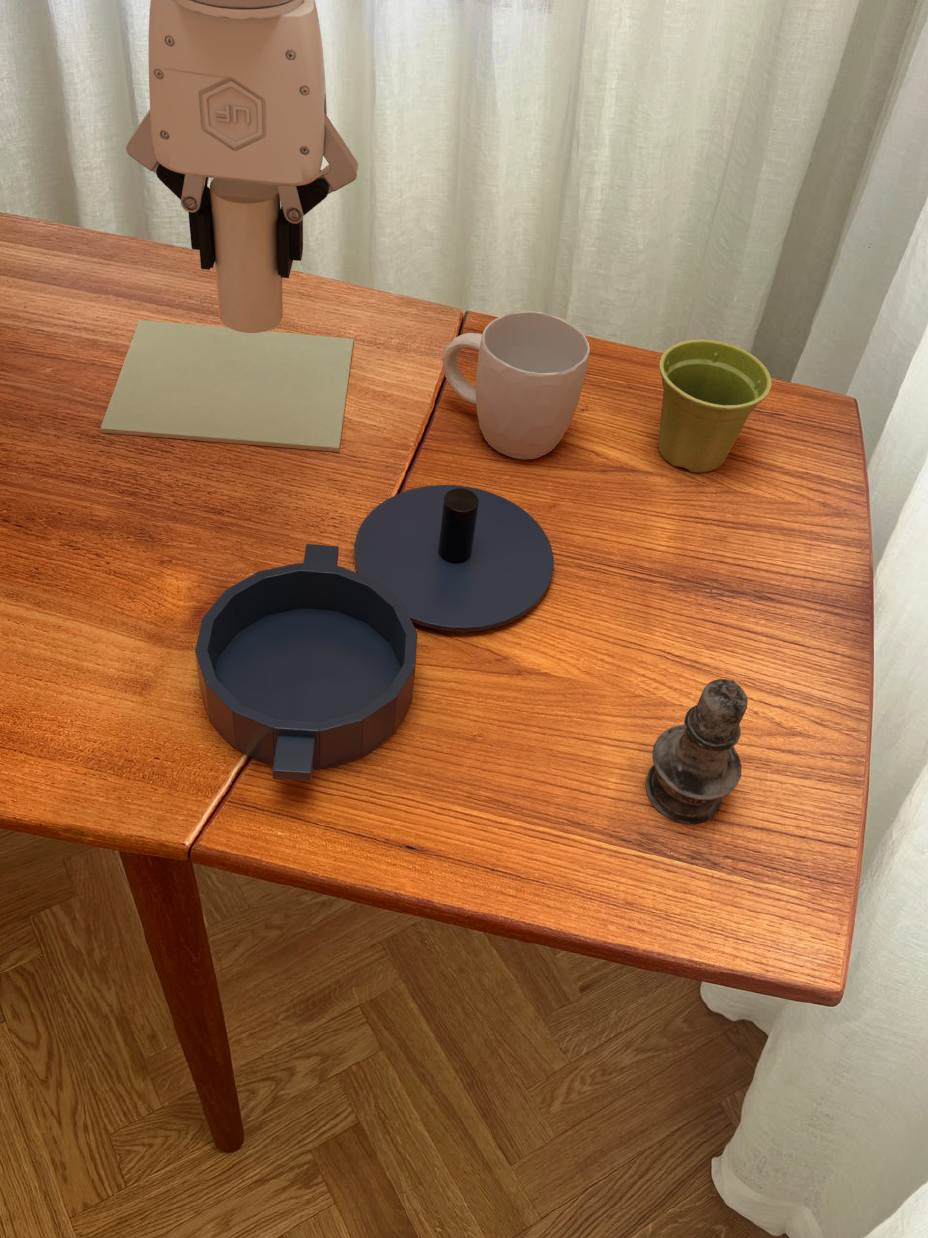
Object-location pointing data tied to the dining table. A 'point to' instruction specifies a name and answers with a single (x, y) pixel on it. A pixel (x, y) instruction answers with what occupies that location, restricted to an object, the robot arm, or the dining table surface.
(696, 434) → the plant pot
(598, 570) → the dining table surface
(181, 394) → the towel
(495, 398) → the mug
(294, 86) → the robot arm
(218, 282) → the beige tall cylinder
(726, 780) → the dark grey chess piece
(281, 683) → the pot
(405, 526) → the pot lid
